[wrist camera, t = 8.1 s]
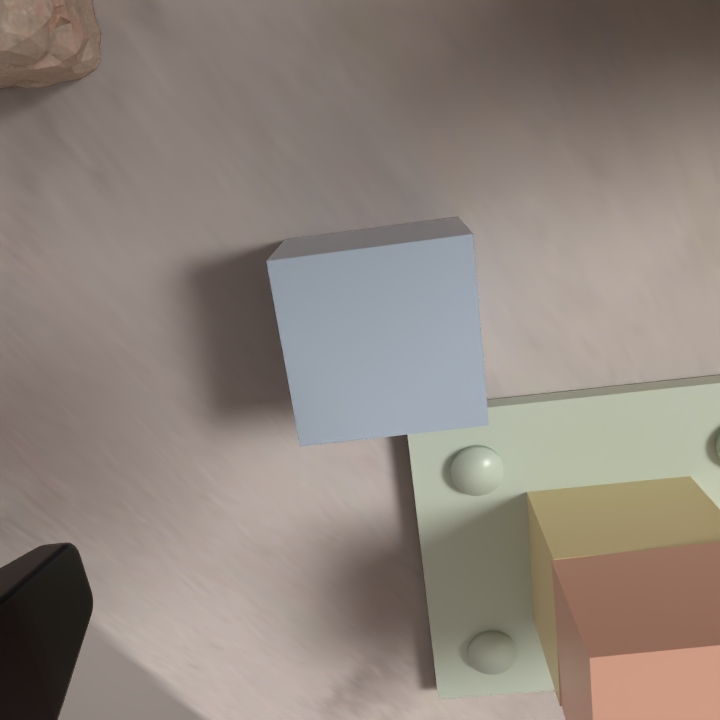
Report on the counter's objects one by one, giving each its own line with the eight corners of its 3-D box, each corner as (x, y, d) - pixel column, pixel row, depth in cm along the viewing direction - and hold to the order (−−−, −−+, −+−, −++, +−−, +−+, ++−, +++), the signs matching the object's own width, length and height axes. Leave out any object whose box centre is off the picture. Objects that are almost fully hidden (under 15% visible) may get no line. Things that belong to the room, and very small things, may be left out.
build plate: (803, 366, 20) (903, 421, 16) (778, 659, 24) (856, 762, 20) (404, 408, 21) (409, 471, 17) (436, 686, 25) (447, 790, 21)
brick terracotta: (745, 539, 18) (830, 634, 14) (740, 689, 19) (815, 806, 16) (551, 560, 18) (589, 658, 15) (561, 706, 20) (598, 824, 16)
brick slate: (457, 215, 19) (473, 233, 16) (471, 378, 21) (489, 425, 18) (285, 238, 20) (266, 261, 16) (312, 396, 21) (300, 446, 18)
